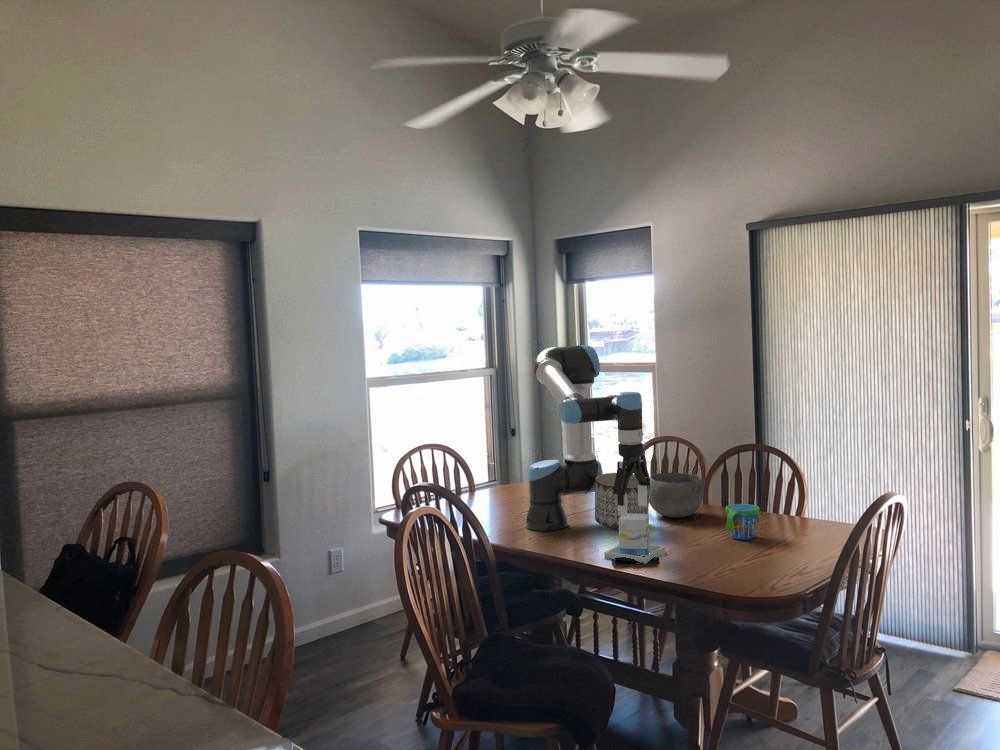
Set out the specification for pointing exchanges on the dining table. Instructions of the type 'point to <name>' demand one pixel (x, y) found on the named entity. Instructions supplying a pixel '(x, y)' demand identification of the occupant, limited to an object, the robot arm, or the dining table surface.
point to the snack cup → (742, 520)
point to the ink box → (634, 534)
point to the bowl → (676, 494)
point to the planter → (615, 500)
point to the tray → (654, 552)
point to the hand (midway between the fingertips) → (632, 510)
